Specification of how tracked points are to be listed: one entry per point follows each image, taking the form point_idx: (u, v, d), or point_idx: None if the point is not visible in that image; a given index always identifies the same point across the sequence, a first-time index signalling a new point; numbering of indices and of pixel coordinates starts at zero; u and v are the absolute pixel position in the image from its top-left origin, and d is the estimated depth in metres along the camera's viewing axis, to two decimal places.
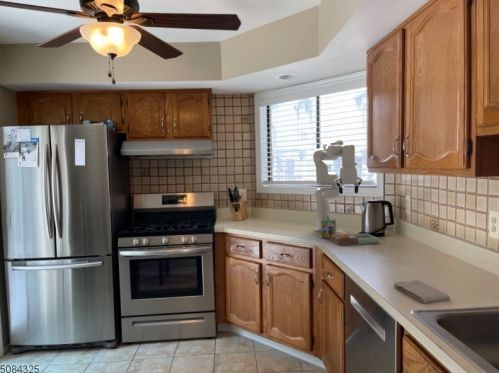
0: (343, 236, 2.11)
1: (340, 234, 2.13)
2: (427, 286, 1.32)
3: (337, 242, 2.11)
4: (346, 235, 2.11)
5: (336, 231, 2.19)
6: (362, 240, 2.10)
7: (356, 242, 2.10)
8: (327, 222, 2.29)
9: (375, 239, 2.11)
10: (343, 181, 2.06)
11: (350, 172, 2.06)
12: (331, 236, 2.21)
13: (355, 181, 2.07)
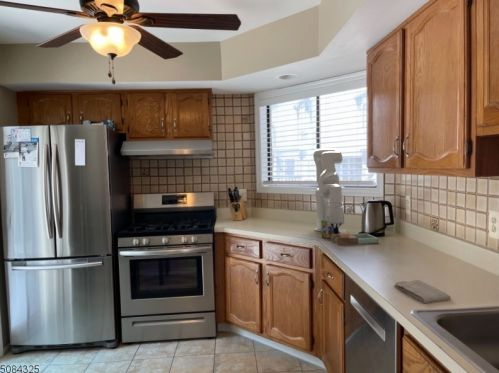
0: (343, 236, 2.11)
1: (340, 234, 2.13)
2: (428, 286, 1.32)
3: (337, 242, 2.11)
4: (346, 235, 2.11)
5: None
6: (362, 240, 2.10)
7: (356, 242, 2.10)
8: (327, 222, 2.29)
9: (375, 239, 2.11)
10: (330, 220, 2.16)
11: (337, 212, 2.15)
12: (331, 236, 2.21)
13: (342, 220, 2.17)
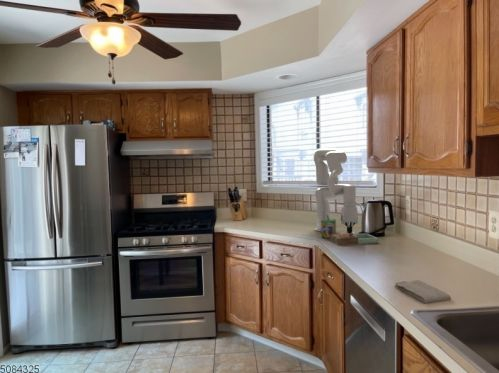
0: (343, 236, 2.11)
1: (340, 234, 2.13)
2: (428, 286, 1.32)
3: (337, 242, 2.11)
4: (346, 235, 2.11)
5: (354, 232, 2.20)
6: (362, 240, 2.10)
7: (356, 242, 2.10)
8: (327, 222, 2.29)
9: (375, 239, 2.11)
10: (344, 220, 2.17)
11: (351, 211, 2.17)
12: (331, 236, 2.21)
13: (356, 220, 2.18)
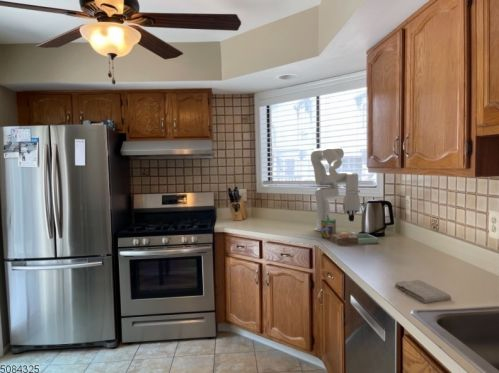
0: (343, 236, 2.11)
1: (340, 234, 2.13)
2: (428, 286, 1.33)
3: (337, 242, 2.11)
4: (346, 235, 2.11)
5: (354, 232, 2.20)
6: (362, 240, 2.10)
7: (356, 242, 2.10)
8: (327, 222, 2.29)
9: (375, 239, 2.11)
10: (346, 208, 2.17)
11: (353, 199, 2.17)
12: (331, 236, 2.21)
13: (358, 208, 2.18)
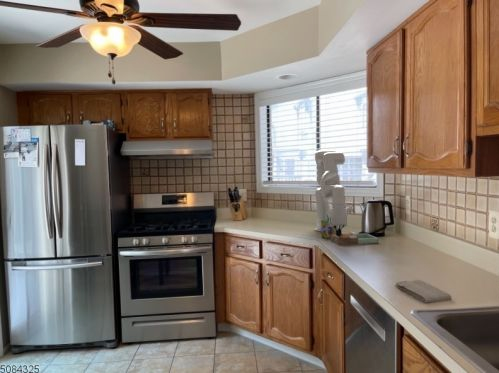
0: (343, 236, 2.11)
1: None
2: (429, 285, 1.33)
3: (337, 242, 2.11)
4: (346, 235, 2.11)
5: (354, 232, 2.20)
6: (362, 240, 2.10)
7: (356, 242, 2.10)
8: (327, 222, 2.29)
9: (375, 239, 2.11)
10: (333, 222, 2.09)
11: (340, 214, 2.09)
12: (331, 236, 2.21)
13: (345, 222, 2.10)
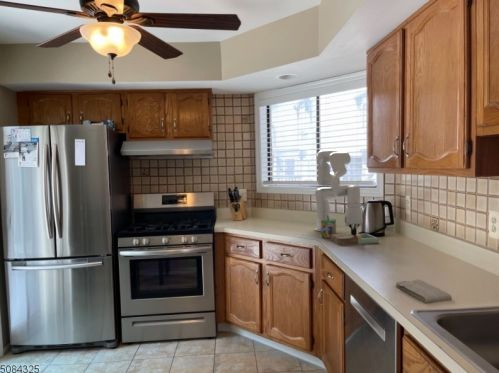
0: (358, 236, 2.11)
1: (357, 234, 2.14)
2: (429, 285, 1.33)
3: (337, 242, 2.11)
4: None
5: None
6: (362, 240, 2.10)
7: (356, 242, 2.10)
8: (327, 222, 2.29)
9: (375, 239, 2.11)
10: (348, 222, 2.11)
11: (355, 213, 2.10)
12: (331, 236, 2.21)
13: (360, 221, 2.12)
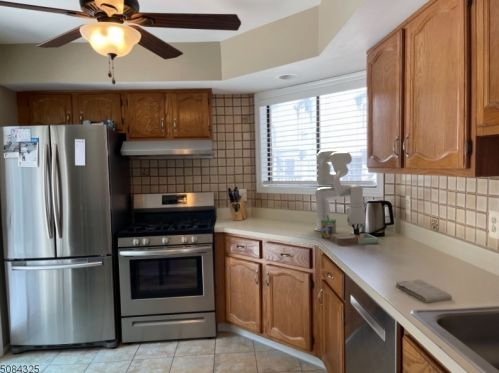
0: (361, 236, 2.11)
1: None
2: (429, 285, 1.33)
3: (337, 242, 2.11)
4: None
5: None
6: (362, 240, 2.10)
7: (356, 242, 2.10)
8: (327, 222, 2.29)
9: (375, 239, 2.11)
10: (351, 221, 2.11)
11: (358, 213, 2.11)
12: (331, 236, 2.21)
13: (363, 221, 2.12)
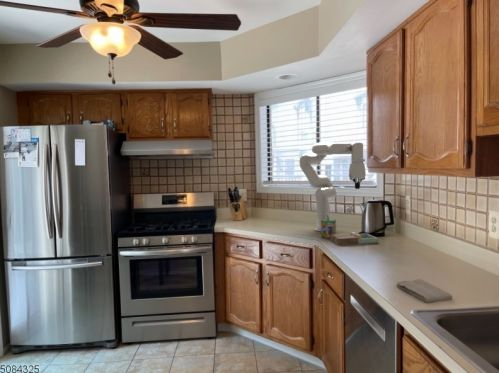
0: (358, 236, 2.11)
1: (357, 234, 2.14)
2: (429, 285, 1.33)
3: (337, 242, 2.11)
4: None
5: (354, 232, 2.20)
6: (362, 240, 2.10)
7: (356, 242, 2.10)
8: (327, 222, 2.29)
9: (375, 239, 2.11)
10: (352, 176, 2.28)
11: (359, 167, 2.27)
12: (331, 236, 2.21)
13: (363, 176, 2.29)
